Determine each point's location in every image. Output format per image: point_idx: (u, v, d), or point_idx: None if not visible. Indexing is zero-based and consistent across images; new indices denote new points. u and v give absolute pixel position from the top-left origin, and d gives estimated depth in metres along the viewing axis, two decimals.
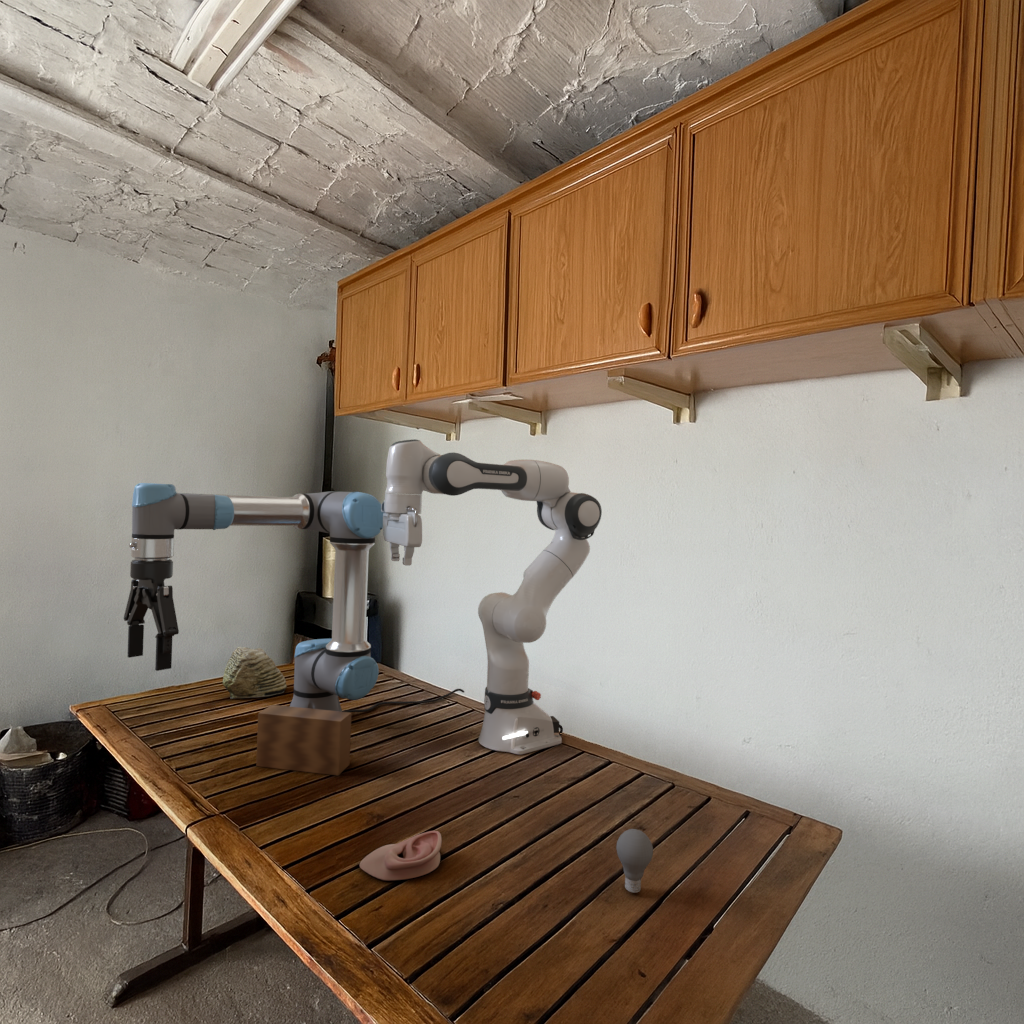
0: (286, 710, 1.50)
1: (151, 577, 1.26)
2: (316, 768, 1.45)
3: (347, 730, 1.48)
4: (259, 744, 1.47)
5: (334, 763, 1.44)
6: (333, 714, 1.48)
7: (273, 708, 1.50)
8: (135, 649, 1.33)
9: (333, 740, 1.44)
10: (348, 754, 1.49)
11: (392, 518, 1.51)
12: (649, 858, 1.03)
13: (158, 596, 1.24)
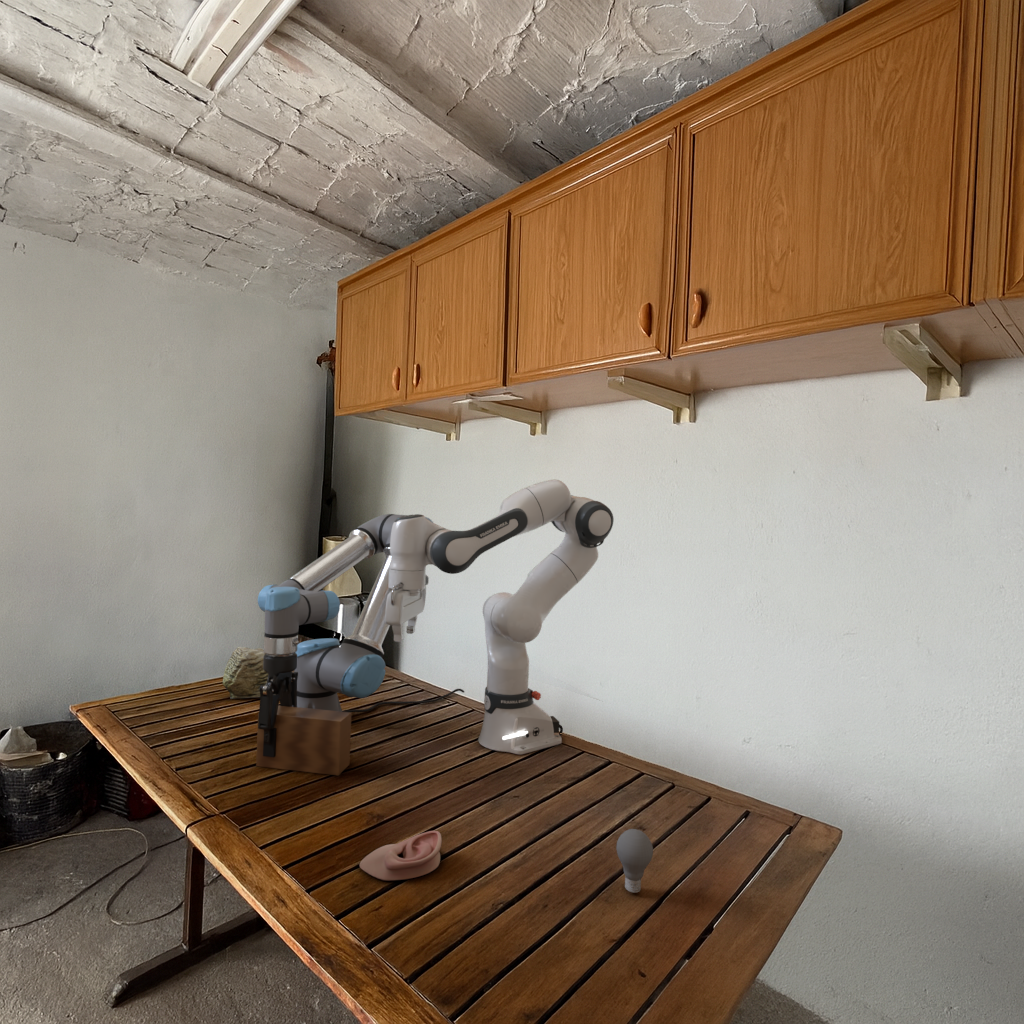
0: (286, 710, 1.50)
1: None
2: (316, 768, 1.45)
3: (347, 730, 1.48)
4: (259, 744, 1.47)
5: (334, 763, 1.44)
6: (333, 714, 1.48)
7: None
8: None
9: (333, 740, 1.44)
10: (348, 754, 1.49)
11: None
12: (649, 858, 1.03)
13: (296, 680, 1.55)
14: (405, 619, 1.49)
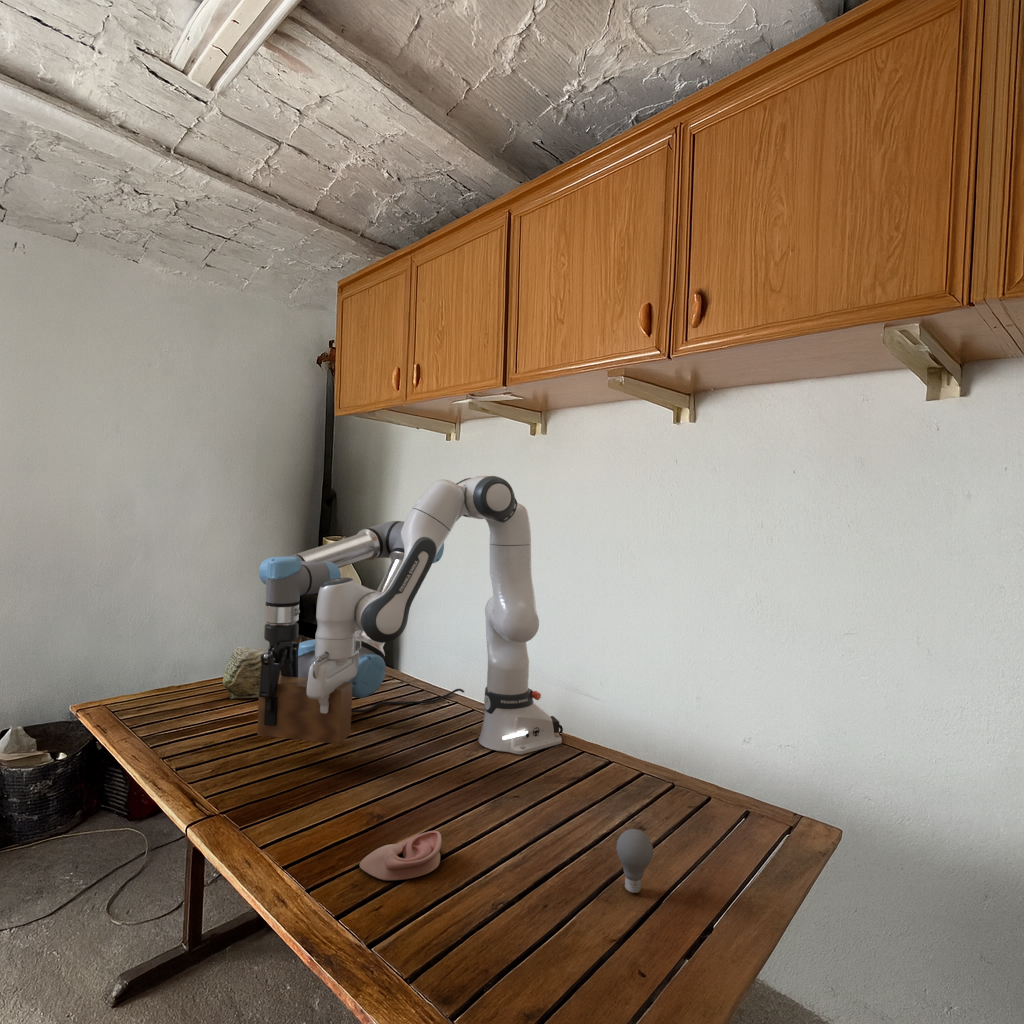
0: (287, 679, 1.49)
1: None
2: (317, 736, 1.45)
3: (348, 699, 1.48)
4: (260, 713, 1.47)
5: (335, 732, 1.44)
6: None
7: None
8: None
9: (334, 708, 1.44)
10: (349, 724, 1.49)
11: None
12: (649, 858, 1.03)
13: (297, 650, 1.55)
14: (331, 691, 1.42)
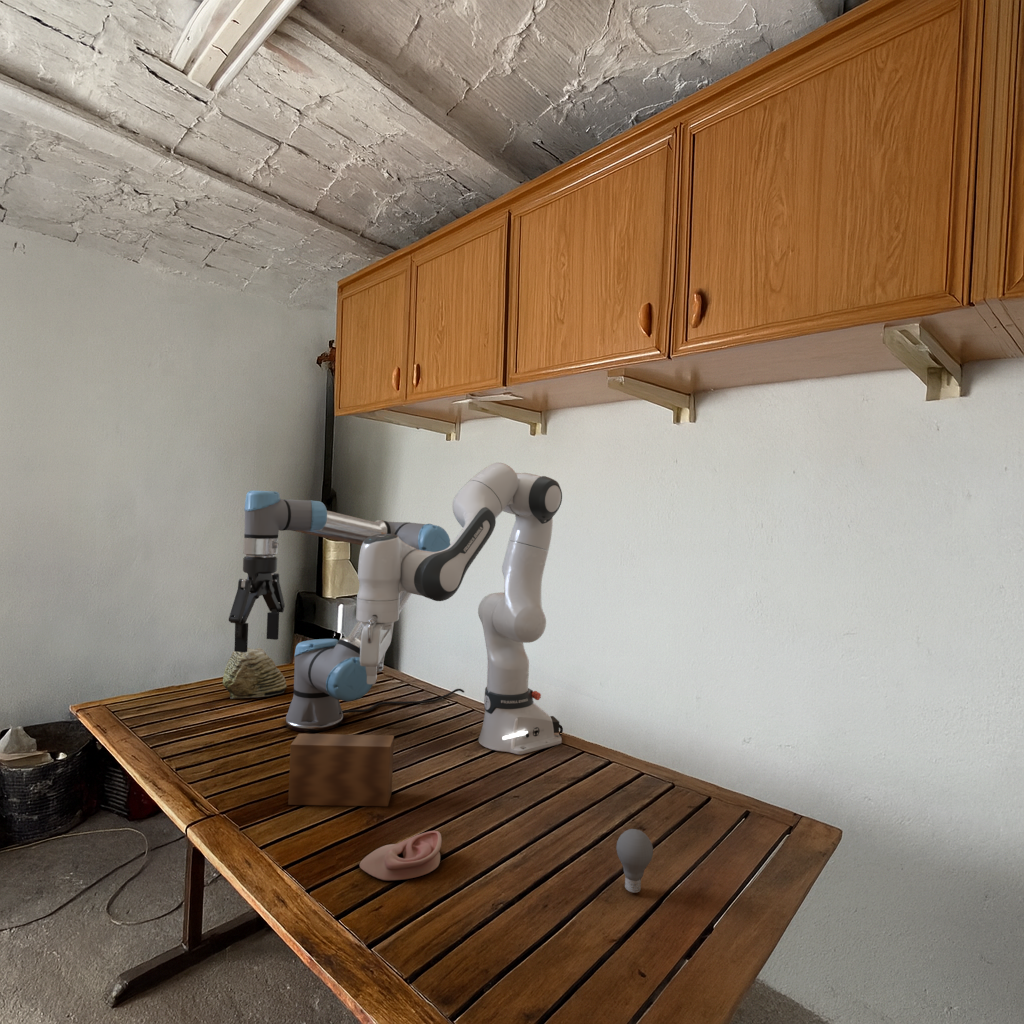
0: (319, 738, 1.33)
1: None
2: (361, 800, 1.31)
3: (392, 755, 1.35)
4: (292, 780, 1.30)
5: (382, 794, 1.31)
6: (376, 738, 1.35)
7: (303, 738, 1.33)
8: None
9: (382, 767, 1.31)
10: (391, 781, 1.36)
11: (362, 626, 1.32)
12: (649, 858, 1.03)
13: (278, 581, 1.56)
14: (381, 658, 1.28)
